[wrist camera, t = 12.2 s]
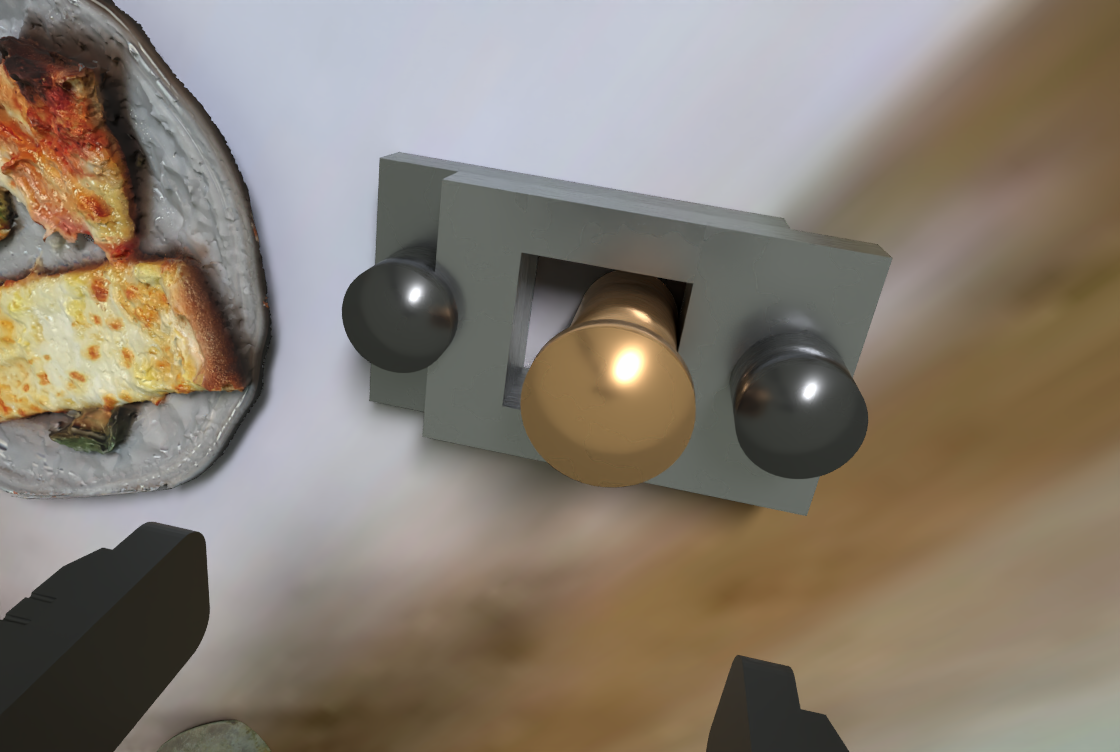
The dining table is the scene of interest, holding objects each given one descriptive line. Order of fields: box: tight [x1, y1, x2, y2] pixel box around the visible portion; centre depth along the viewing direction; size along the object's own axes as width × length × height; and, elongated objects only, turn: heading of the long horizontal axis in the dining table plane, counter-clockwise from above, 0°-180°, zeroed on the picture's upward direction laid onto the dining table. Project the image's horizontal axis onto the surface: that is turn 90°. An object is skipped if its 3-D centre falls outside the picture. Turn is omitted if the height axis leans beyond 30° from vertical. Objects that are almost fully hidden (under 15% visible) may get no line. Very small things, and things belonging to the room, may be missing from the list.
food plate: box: [0, 0, 272, 499], centre depth 32 cm, size 25×23×4 cm
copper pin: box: [520, 270, 696, 487], centre depth 26 cm, size 5×5×9 cm
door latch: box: [342, 152, 892, 516], centre depth 27 cm, size 18×10×7 cm, turn 82°
